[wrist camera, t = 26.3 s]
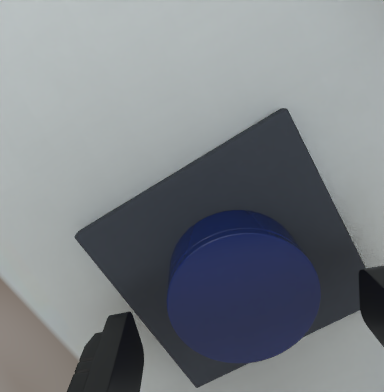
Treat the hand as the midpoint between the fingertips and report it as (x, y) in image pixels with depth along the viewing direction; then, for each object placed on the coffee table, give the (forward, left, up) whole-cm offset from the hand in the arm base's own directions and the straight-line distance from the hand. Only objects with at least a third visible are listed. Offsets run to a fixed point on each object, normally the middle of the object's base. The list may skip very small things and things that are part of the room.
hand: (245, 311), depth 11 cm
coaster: (0, 0, -4) cm, 4 cm away
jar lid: (0, 0, -1) cm, 1 cm away
